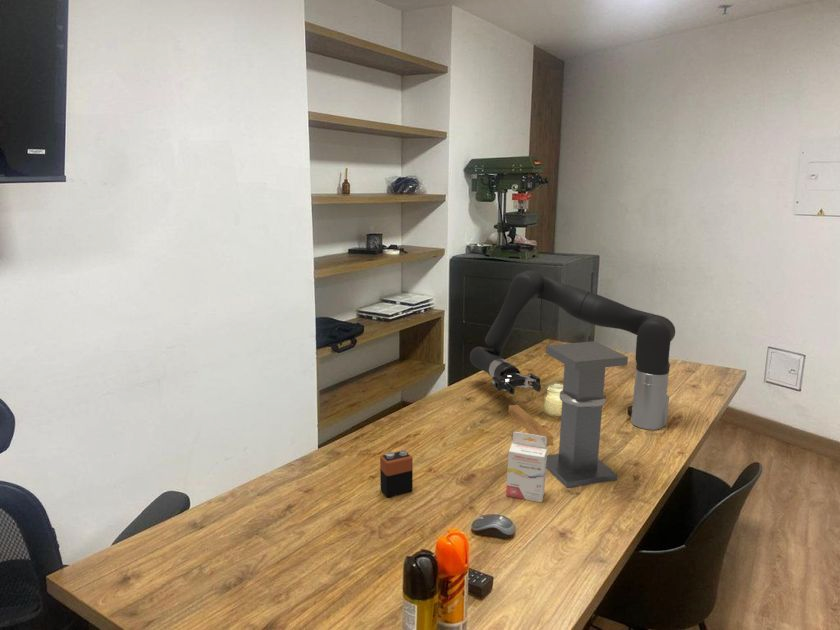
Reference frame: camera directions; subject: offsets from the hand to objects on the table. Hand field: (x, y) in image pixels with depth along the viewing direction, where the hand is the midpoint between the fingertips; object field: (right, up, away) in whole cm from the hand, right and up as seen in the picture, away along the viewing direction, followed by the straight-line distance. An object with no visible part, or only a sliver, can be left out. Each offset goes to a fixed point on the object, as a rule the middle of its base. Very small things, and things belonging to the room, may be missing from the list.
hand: (526, 389), depth 176 cm
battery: (-38, -20, -36) cm, 55 cm away
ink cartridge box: (-7, -20, -37) cm, 43 cm away
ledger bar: (+1, -12, 0) cm, 12 cm away
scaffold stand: (+8, -17, -26) cm, 32 cm away
